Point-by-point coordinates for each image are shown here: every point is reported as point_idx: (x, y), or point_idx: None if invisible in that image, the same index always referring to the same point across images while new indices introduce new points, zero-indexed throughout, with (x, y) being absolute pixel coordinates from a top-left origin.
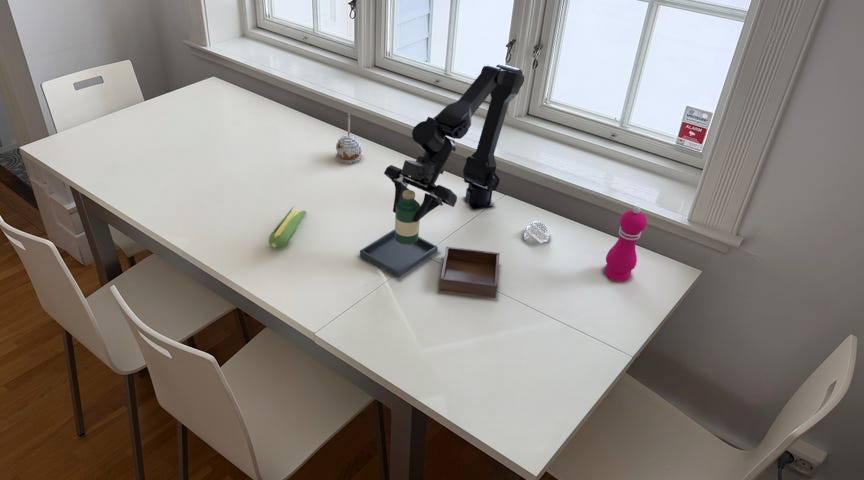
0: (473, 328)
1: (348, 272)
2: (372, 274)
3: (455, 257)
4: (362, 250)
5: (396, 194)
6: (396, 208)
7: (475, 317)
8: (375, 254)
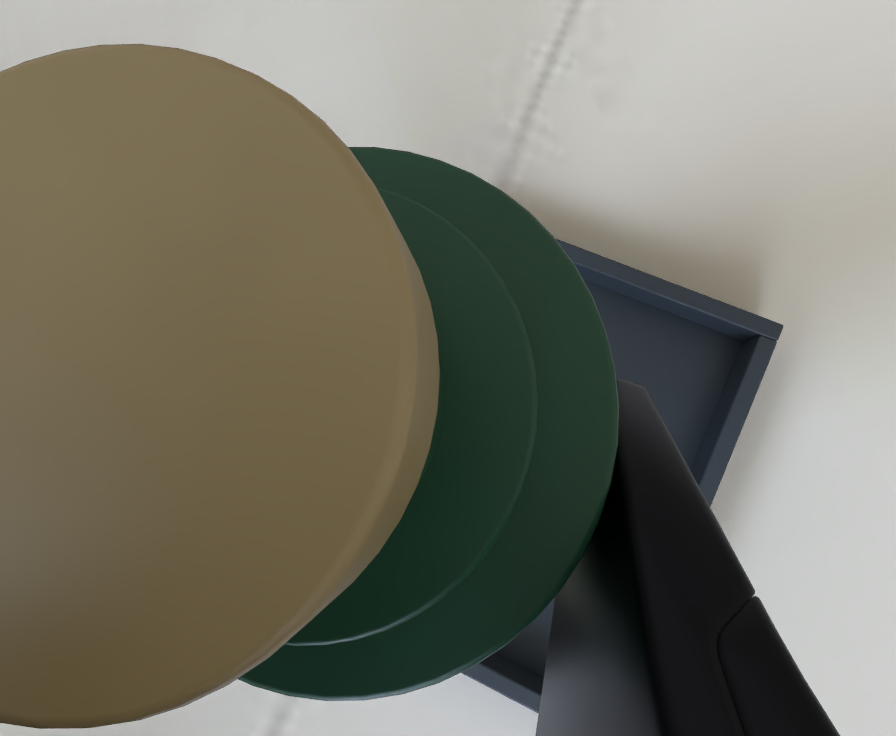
0: (11, 18)
1: (759, 163)
2: (607, 202)
3: None
4: (765, 332)
5: (759, 673)
6: (560, 254)
7: None
8: (663, 379)
